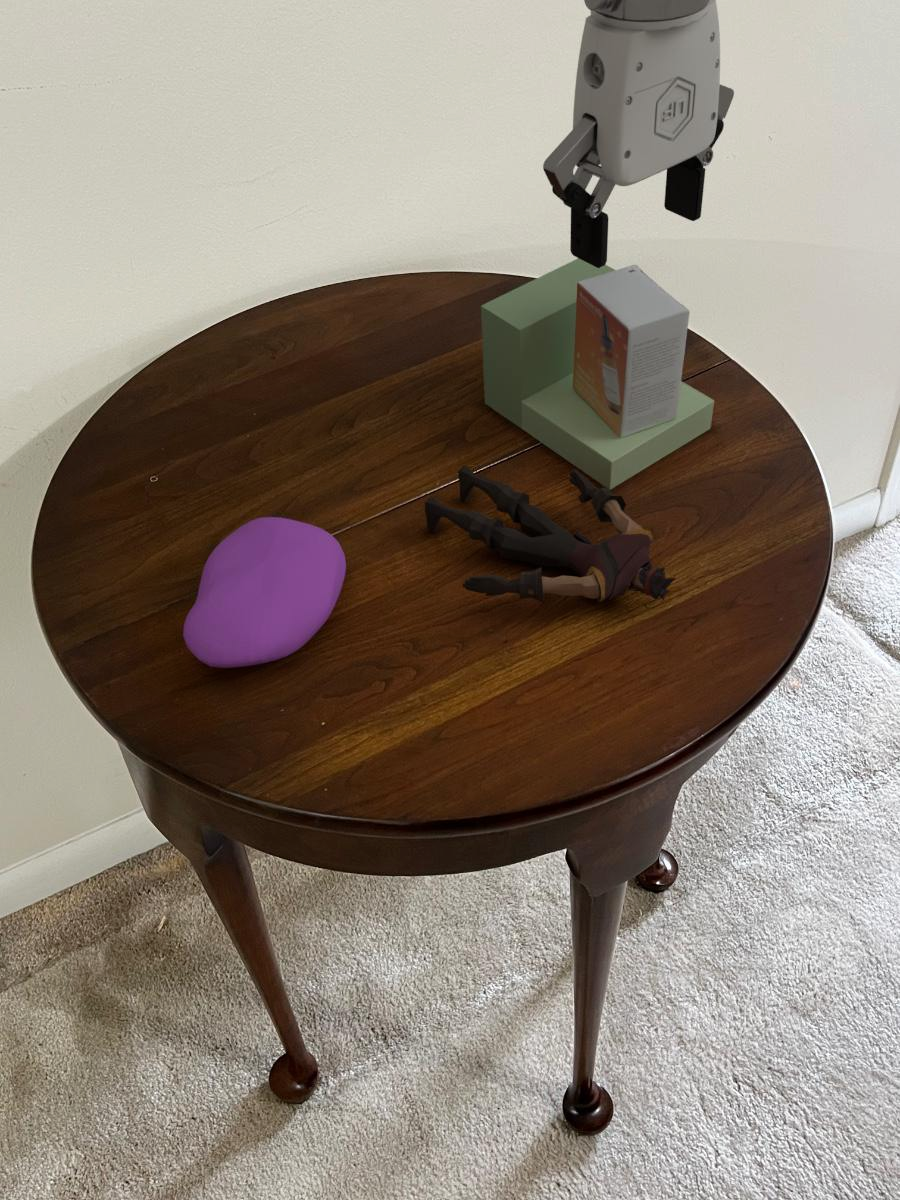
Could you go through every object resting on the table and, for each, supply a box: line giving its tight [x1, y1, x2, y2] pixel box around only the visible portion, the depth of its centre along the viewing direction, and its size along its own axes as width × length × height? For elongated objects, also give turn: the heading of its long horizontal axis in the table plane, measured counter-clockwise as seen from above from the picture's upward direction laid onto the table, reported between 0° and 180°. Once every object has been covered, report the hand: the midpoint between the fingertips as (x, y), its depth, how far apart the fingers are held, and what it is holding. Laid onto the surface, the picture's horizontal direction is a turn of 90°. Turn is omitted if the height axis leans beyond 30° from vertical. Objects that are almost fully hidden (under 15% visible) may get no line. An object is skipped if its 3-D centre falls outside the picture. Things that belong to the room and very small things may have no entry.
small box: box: [573, 264, 691, 438], centre depth 91 cm, size 8×6×10 cm
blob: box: [182, 516, 347, 669], centre depth 82 cm, size 14×11×5 cm
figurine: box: [424, 465, 676, 604], centre depth 85 cm, size 15×4×20 cm
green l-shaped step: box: [480, 258, 715, 491], centre depth 95 cm, size 16×12×10 cm
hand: (636, 236), depth 83 cm, fingers open, 9 cm apart
